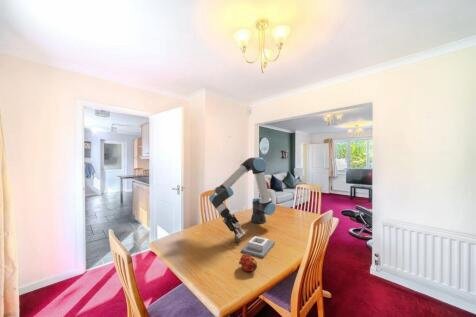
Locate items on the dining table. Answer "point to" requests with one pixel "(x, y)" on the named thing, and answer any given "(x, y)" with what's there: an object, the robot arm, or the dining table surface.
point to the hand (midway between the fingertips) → (242, 235)
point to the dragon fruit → (248, 263)
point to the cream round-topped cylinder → (237, 226)
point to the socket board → (258, 252)
